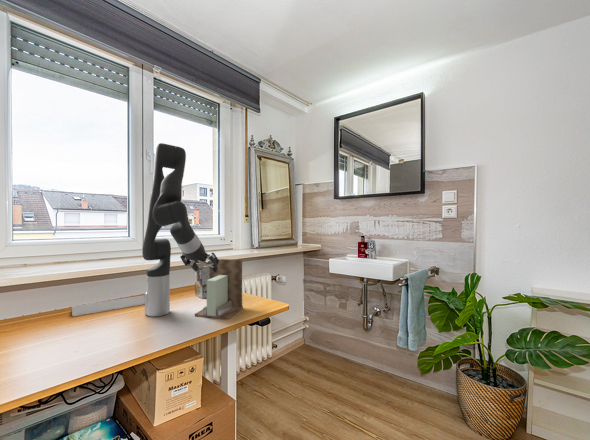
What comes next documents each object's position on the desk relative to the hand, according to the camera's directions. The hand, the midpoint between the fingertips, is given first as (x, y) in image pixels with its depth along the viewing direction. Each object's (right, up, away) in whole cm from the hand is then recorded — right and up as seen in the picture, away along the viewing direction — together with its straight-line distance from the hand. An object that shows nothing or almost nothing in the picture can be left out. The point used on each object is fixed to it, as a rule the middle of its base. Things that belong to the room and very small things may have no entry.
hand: (206, 270), depth 117 cm
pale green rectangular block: (+2, -20, +9) cm, 22 cm away
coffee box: (-13, -21, +38) cm, 45 cm away
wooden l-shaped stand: (+2, -21, +12) cm, 24 cm away
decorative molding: (-50, -22, +21) cm, 58 cm away
